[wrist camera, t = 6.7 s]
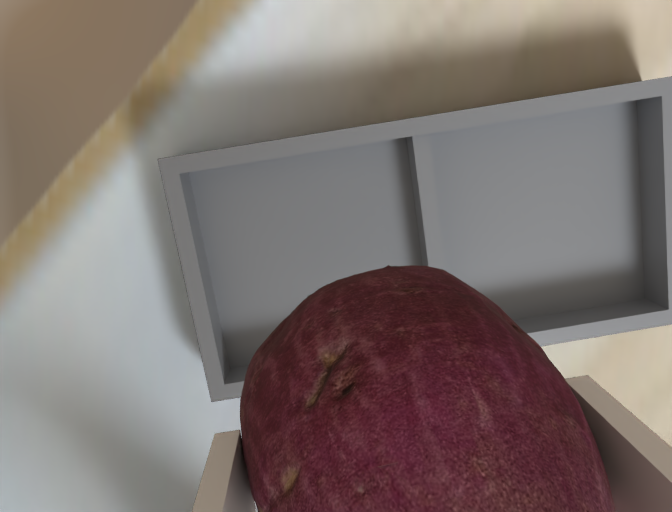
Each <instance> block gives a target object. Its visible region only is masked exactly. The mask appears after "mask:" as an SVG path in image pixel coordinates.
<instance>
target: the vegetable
mask: <svg viewBox="0 0 672 512" xmlns="http://www.w3.org/2000/svg"><path fill="white" fill-rule="evenodd" d="M240 422H241V432H242V445H243V452H244V458H245V462H246V466H247V471H248V478H249V483H250V488H251V493H252V496H253V499H254V501H255V502H256V506H257V509H258V512H616V510H615V505H614V501H613V497H612V493H611V488H610V484H609V480H608V477H607V474H606V470H605V467H604V464H603V461H602V458H601V455H600V452H599V449H598V447H597V444H596V441H595V438H594V436H593V434H592V432H591V429H590V427H589V425H588V422H587V420H586V418H585V415H584V413H583V411H582V408H581V406H580V404H579V402H578V400H577V399H576V397H575V395H574V394H573V392H572V390H571V388H570V387H569V385H568V383H567V382H566V380H565V379H564V377H563V376H562V374H561V373H560V372H559V371H558V370H557V368H556V367H555V366H554V365H553V364H552V362H551V361H550V360H549V359H548V357H547V356H546V354H545V352H544V351H543V349H542V348H541V347H540V345H539V344H538V343H537V342H536V341H535V340H534V339H533V338H531V337H530V336H529V335H528V334H527V333H525V332H524V331H523V330H522V329H521V328H520V327H519V326H518V325H517V324H516V323H515V322H514V321H513V320H512V319H511V318H510V317H509V316H508V315H507V314H506V313H505V312H504V311H503V310H502V309H501V308H500V307H499V306H498V305H497V304H495V303H494V302H493V301H491V300H490V299H489V298H487V297H486V296H484V295H483V294H482V293H480V292H479V291H477V290H476V289H474V288H473V287H471V286H469V285H468V284H466V283H465V282H463V281H462V280H460V279H458V278H457V277H455V276H454V275H452V274H450V273H448V272H447V271H445V270H443V269H438V268H434V267H429V266H417V265H409V266H389V265H388V266H386V267H384V268H380V269H376V270H371V271H367V272H363V273H360V274H355V275H352V276H349V277H346V278H343V279H339V280H336V281H334V282H332V283H330V284H327V285H325V286H323V287H321V288H319V289H318V290H317V291H315V292H314V293H313V294H311V295H308V296H307V298H306V299H304V300H303V301H302V302H301V303H300V304H299V305H298V306H297V307H296V308H295V310H293V311H292V312H291V314H290V315H289V316H287V317H286V318H285V319H284V320H283V321H282V322H281V323H280V324H279V325H278V326H277V327H276V328H275V330H274V331H273V332H272V333H271V334H270V335H269V336H268V337H267V339H266V340H265V341H264V342H263V343H262V344H261V346H260V347H259V348H258V349H257V351H256V352H255V354H254V356H253V357H252V359H251V361H250V364H249V366H248V368H247V372H246V375H245V380H244V385H243V389H242V393H241V400H240Z"/></svg>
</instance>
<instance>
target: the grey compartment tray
mask: <svg viewBox="0 0 672 512" xmlns="http://www.w3.org/2000/svg"><path fill="white" fill-rule="evenodd" d="M158 163H159V167H160V172H161V176H162V181H163V185H164V190H165V194H166V199H167V203H168V208H169V213H170V217H171V222H172V226H173V231H174V235H175V240H176V244H177V249H178V253H179V258H180V262H181V267H182V271H183V276H184V280H185V285H186V289H187V294H188V298H189V303H190V307H191V312H192V316H193V321H194V325H195V330H196V334H197V339H198V343H199V348H200V352H201V357H202V361H203V366H204V370H205V375H206V379H207V384H208V388H209V393H210V397H211V402H215V401H221V400H227V399H233V398H239V397H241V393H242V389H243V385H244V380H245V375H246V372H247V368H248V366H249V364H250V361H251V359H252V357H253V356H254V354H255V352H256V351H257V349H258V348H259V347H260V346H261V344H262V343H263V342H264V341H265V340H266V339H267V337H268V336H269V335H270V334H271V333H272V332H273V331H274V330H275V328H276V327H277V326H278V325H279V324H280V323H281V322H282V321H283V320H284V319H285V318H286V317H287V316H289V315H290V314H291V312H292V311H293V310H295V308H296V307H297V306H298V305H299V304H300V303H301V302H302V301H303V300H304V299H306V298H307V296H308V295H311V294H313V293H314V292H315V291H317V290H318V289H319V288H321V287H323V286H325V285H327V284H330V283H332V282H334V281H336V280H339V279H343V278H346V277H349V276H352V275H355V274H360V273H363V272H367V271H371V270H376V269H380V268H384V267H386V266H388V265H389V266H409V265H417V266H429V267H434V268H438V269H443V270H445V271H447V272H448V273H450V274H452V275H454V276H455V277H457V278H458V279H460V280H462V281H463V282H465V283H466V284H468V285H469V286H471V287H473V288H474V289H476V290H477V291H479V292H480V293H482V294H483V295H484V296H486V297H487V298H489V299H490V300H491V301H493V302H494V303H495V304H497V305H498V306H499V307H500V308H501V309H502V310H503V311H504V312H505V313H506V314H507V315H508V316H509V317H510V318H511V319H512V320H513V321H514V322H515V323H516V324H517V325H518V326H519V327H520V328H521V329H522V330H523V331H524V332H525V333H527V334H528V335H529V336H530V337H531V338H533V339H534V340H535V341H536V342H537V343H538V344H539V345H540V346H546V345H552V344H558V343H564V342H570V341H576V340H582V339H588V338H594V337H600V336H606V335H611V334H617V333H623V332H629V331H635V330H641V329H647V328H653V327H659V326H665V325H671V324H672V76H671V77H665V78H658V79H652V80H646V81H640V82H633V83H627V84H621V85H615V86H609V87H602V88H596V89H590V90H584V91H577V92H571V93H565V94H559V95H552V96H546V97H540V98H534V99H528V100H521V101H515V102H509V103H503V104H496V105H490V106H484V107H478V108H472V109H465V110H459V111H453V112H447V113H440V114H434V115H428V116H422V117H415V118H409V119H403V120H397V121H391V122H384V123H378V124H372V125H366V126H359V127H353V128H347V129H341V130H334V131H328V132H322V133H316V134H310V135H303V136H297V137H291V138H285V139H278V140H272V141H266V142H260V143H254V144H247V145H241V146H235V147H229V148H222V149H216V150H210V151H204V152H197V153H191V154H185V155H179V156H173V157H166V158H160V159H158Z"/></svg>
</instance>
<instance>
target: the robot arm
mask: <svg viewBox="0 0 672 512" xmlns="http://www.w3.org/2000/svg"><path fill="white" fill-rule="evenodd" d="M565 380H566V382H567V383H568V385H569V387H570V388H571V390H572V392H573V394H574V395H575V397H576V399H577V400H578V402H579V404H580V406H581V408H582V411H583V413H584V415H585V418H586V420H587V422H588V425H589V427H590V429H591V432H592V434H593V436H594V438H595V441H596V444H597V447H598V449H599V452H600V455H601V458H602V461H603V464H604V467H605V470H606V474H607V477H608V480H609V484H610V488H611V493H612V497H613V501H614V505H615V510H616V512H672V447H671V446H669V445H668V444H667V443H666V442H665V441H664V440H662V439H661V438H660V437H659V436H658V435H657V434H656V433H654V432H653V431H652V430H651V429H650V428H649V427H647V426H646V425H645V424H644V423H643V422H642V421H640V420H639V419H638V418H637V417H636V416H635V415H633V414H632V413H631V412H630V411H629V410H628V409H626V408H625V407H624V406H623V405H622V404H621V403H620V402H618V401H617V400H616V399H615V398H614V397H613V396H611V395H610V394H609V393H608V392H607V391H606V390H604V389H603V388H602V387H601V386H600V385H599V384H597V383H596V382H595V381H594V380H593V379H592V378H590V377H589V376H588V375H585V376H579V377H573V378H566V379H565ZM255 509H256V508H255V503H254V499H253V496H252V493H251V488H250V483H249V478H248V471H247V466H246V462H245V458H244V452H243V445H242V438H241V433H240V430H235V431H229V432H223V433H216V434H215V435H214V438H213V441H212V445H211V448H210V452H209V455H208V458H207V462H206V465H205V469H204V472H203V475H202V479H201V482H200V486H199V489H198V492H197V496H196V499H195V503H194V506H193V509H192V512H255Z"/></svg>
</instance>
